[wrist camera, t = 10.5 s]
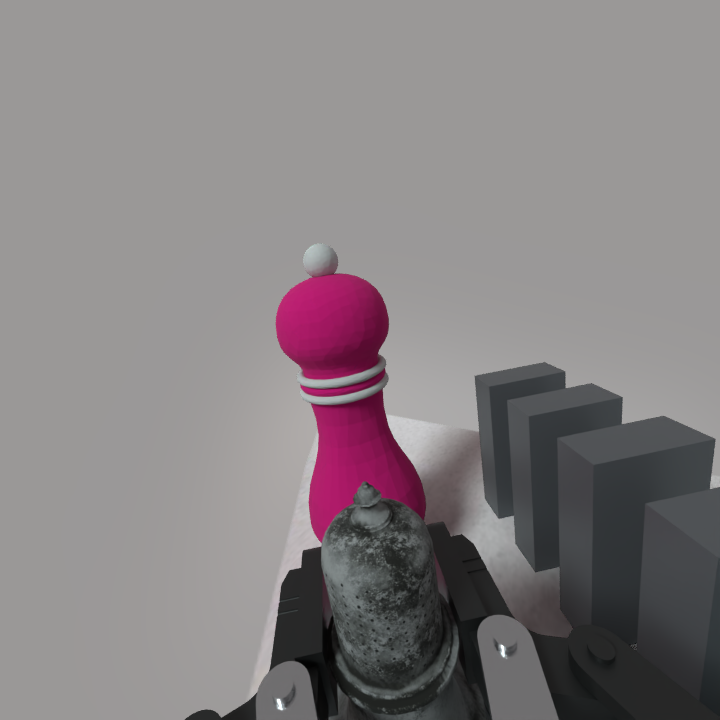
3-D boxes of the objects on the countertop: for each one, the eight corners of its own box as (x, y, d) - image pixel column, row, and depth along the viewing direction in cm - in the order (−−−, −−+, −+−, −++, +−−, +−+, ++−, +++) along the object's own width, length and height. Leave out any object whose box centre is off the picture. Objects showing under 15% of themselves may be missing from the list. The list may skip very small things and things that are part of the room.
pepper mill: (314, 541, 26) (243, 259, 20) (403, 506, 28) (361, 239, 22) (339, 632, 19) (245, 250, 14) (455, 579, 21) (413, 223, 16)
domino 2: (616, 553, 21) (622, 397, 18) (535, 571, 21) (528, 416, 18) (589, 527, 23) (591, 383, 20) (515, 543, 23) (507, 400, 20)
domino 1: (566, 503, 25) (565, 371, 22) (498, 518, 25) (489, 386, 22) (547, 485, 27) (544, 362, 25) (485, 498, 27) (474, 375, 24)
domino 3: (692, 629, 17) (715, 439, 14) (591, 654, 16) (593, 464, 14) (651, 588, 19) (663, 415, 16) (560, 609, 18) (557, 437, 16)
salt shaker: (460, 674, 15) (429, 409, 12) (572, 914, 9) (569, 529, 6) (321, 729, 14) (246, 455, 11) (352, 1039, 8) (215, 650, 5)
